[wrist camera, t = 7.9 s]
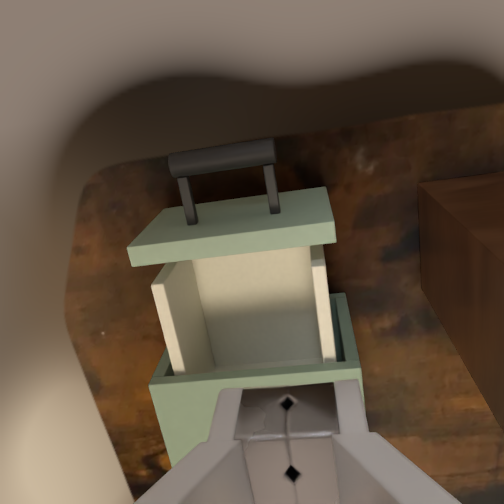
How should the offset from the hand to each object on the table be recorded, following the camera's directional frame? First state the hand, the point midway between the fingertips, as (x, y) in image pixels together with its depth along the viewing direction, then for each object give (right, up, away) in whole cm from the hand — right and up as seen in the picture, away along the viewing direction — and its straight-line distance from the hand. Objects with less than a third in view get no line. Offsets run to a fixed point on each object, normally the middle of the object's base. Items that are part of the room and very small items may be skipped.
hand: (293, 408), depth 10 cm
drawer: (-1, +3, +23) cm, 24 cm away
